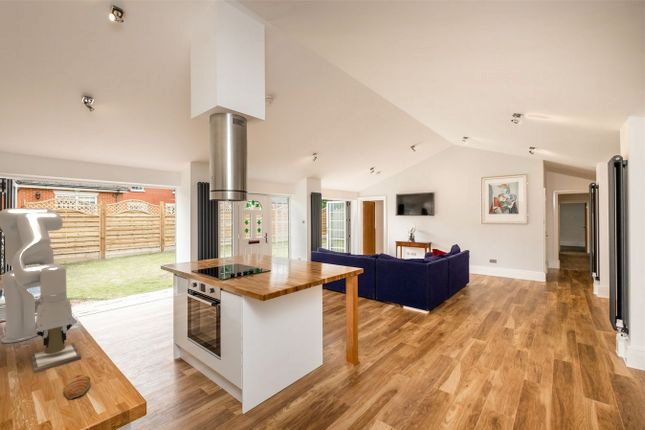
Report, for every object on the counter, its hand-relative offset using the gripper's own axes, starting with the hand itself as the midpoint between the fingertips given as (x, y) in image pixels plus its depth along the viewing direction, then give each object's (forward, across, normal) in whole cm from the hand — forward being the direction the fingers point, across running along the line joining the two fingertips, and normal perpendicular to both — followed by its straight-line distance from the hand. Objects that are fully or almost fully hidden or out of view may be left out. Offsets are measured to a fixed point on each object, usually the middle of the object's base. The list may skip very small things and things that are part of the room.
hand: (55, 344), depth 115 cm
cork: (+2, 0, 0) cm, 2 cm away
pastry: (+6, 0, -34) cm, 35 cm away
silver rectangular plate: (+5, 0, 0) cm, 5 cm away
